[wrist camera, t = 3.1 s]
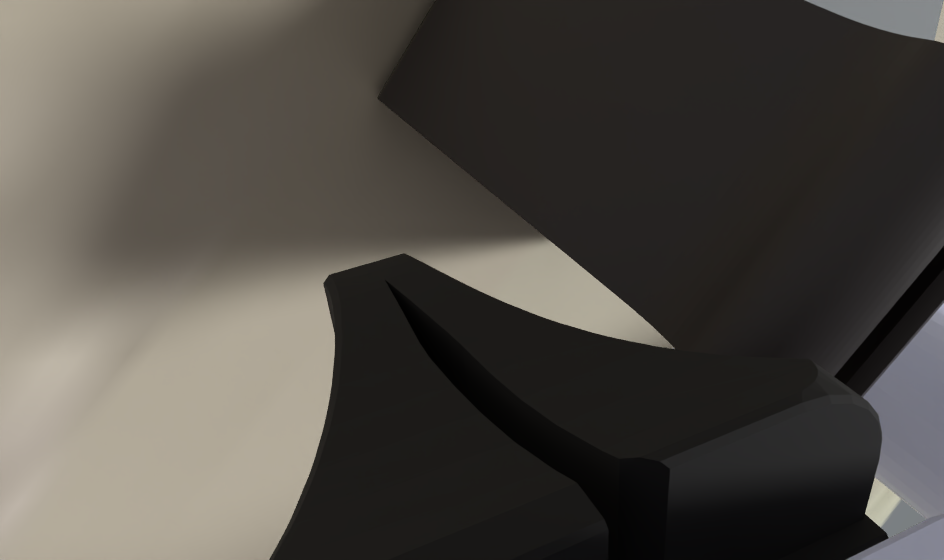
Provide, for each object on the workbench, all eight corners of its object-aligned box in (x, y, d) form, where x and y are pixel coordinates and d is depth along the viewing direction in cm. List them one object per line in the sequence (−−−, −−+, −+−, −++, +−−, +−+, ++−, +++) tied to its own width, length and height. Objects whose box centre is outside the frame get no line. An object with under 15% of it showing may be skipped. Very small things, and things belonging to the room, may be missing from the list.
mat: (1001, -311, 21) (1014, -313, 21) (891, 185, 29) (900, 189, 29) (699, -287, 18) (710, -289, 18) (669, 256, 26) (676, 261, 26)
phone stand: (727, 69, 23) (1162, 243, 13) (608, 234, 24) (923, 502, 15) (505, -127, 18) (937, -79, 8) (372, 93, 19) (610, 356, 10)
